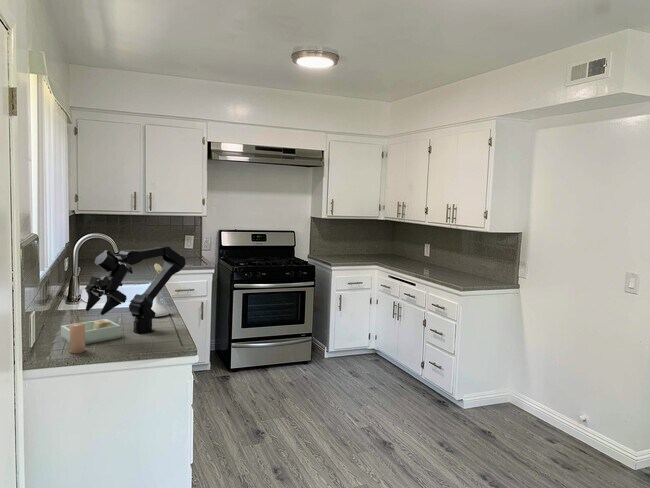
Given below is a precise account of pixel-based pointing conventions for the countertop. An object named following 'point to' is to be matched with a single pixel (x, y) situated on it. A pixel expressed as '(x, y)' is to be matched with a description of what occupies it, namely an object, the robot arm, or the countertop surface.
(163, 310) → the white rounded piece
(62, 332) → the tote
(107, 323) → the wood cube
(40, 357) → the countertop surface
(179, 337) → the countertop surface
